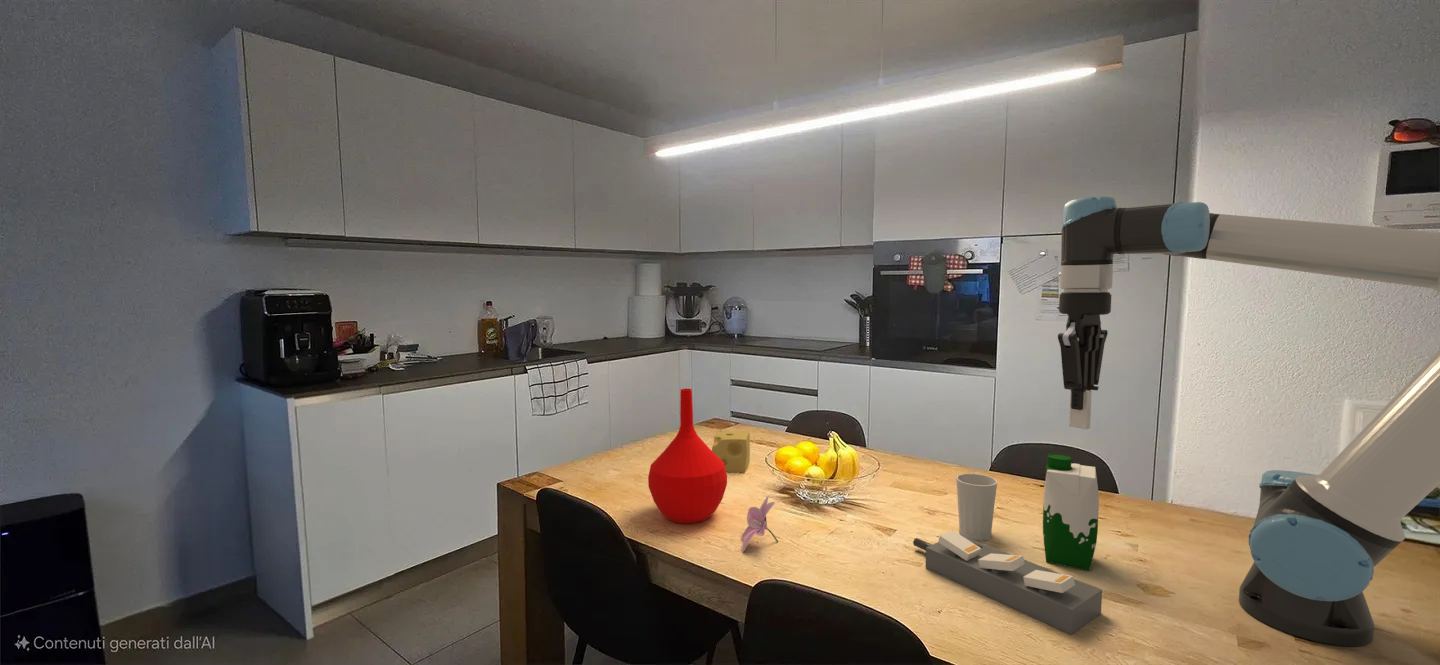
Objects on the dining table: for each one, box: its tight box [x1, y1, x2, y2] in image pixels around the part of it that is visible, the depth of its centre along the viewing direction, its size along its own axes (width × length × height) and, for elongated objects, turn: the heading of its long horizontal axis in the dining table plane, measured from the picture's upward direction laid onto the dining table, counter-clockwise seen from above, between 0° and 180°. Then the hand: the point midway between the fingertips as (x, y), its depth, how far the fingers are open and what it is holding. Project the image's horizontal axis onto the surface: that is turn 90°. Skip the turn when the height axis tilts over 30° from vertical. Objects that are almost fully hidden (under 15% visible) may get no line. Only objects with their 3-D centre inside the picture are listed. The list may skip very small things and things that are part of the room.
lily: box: [740, 494, 779, 554], centre depth 122 cm, size 12×12×10 cm
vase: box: [647, 388, 728, 524], centre depth 136 cm, size 18×18×30 cm
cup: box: [955, 472, 998, 542], centre depth 125 cm, size 8×8×12 cm
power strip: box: [912, 535, 1103, 636], centre depth 105 cm, size 32×10×4 cm, turn 35°
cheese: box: [711, 429, 751, 474], centre depth 172 cm, size 10×11×10 cm
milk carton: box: [1042, 453, 1100, 572], centre depth 113 cm, size 9×9×20 cm
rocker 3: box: [1023, 570, 1075, 593], centre depth 95 cm, size 6×4×2 cm, turn 34°
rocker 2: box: [978, 553, 1025, 571], centre depth 102 cm, size 6×4×2 cm, turn 34°
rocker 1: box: [937, 529, 981, 561], centre depth 108 cm, size 6×4×2 cm, turn 35°
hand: (1079, 427), depth 102 cm, fingers closed
